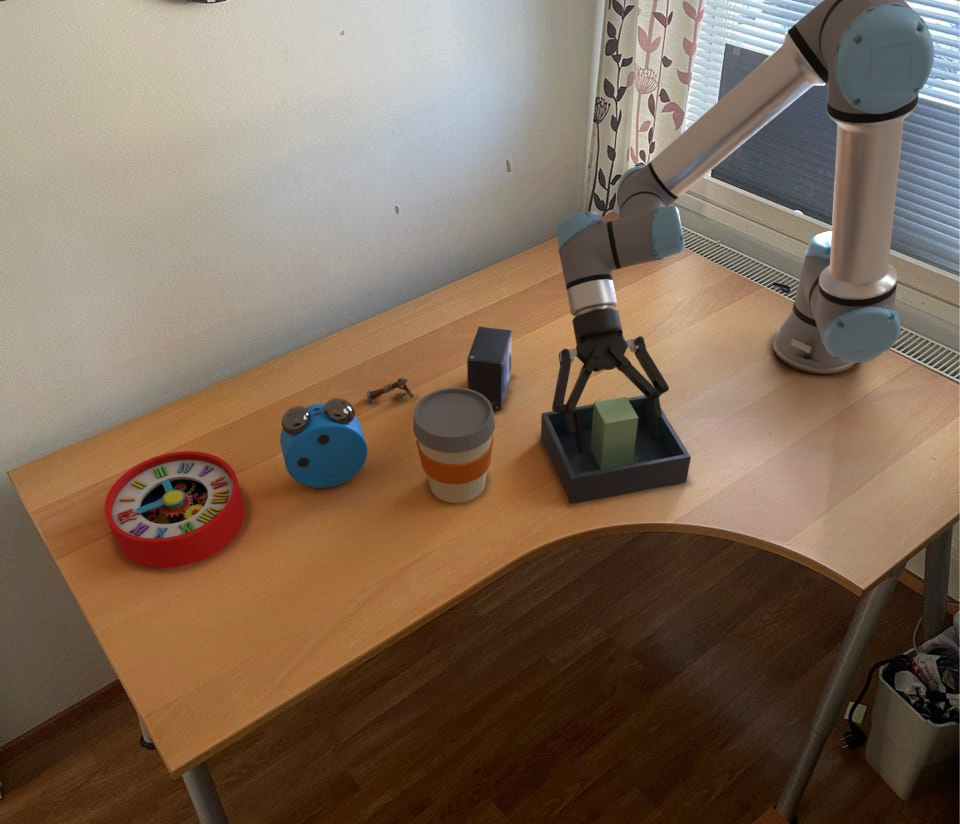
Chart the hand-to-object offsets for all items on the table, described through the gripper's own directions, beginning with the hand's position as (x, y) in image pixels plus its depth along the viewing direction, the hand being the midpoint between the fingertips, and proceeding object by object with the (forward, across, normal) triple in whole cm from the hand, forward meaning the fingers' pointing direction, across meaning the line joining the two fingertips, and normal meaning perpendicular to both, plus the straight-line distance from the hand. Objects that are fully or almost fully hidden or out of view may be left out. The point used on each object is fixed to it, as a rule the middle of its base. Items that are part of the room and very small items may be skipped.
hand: (619, 446), depth 145 cm
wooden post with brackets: (-16, +33, -24) cm, 44 cm away
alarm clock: (-4, +46, -11) cm, 48 cm away
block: (+1, 0, -5) cm, 5 cm away
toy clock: (-1, +70, -8) cm, 71 cm away
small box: (-14, +15, -22) cm, 30 cm away
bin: (+2, 0, -6) cm, 6 cm away
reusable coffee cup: (+1, +26, -6) cm, 27 cm away
